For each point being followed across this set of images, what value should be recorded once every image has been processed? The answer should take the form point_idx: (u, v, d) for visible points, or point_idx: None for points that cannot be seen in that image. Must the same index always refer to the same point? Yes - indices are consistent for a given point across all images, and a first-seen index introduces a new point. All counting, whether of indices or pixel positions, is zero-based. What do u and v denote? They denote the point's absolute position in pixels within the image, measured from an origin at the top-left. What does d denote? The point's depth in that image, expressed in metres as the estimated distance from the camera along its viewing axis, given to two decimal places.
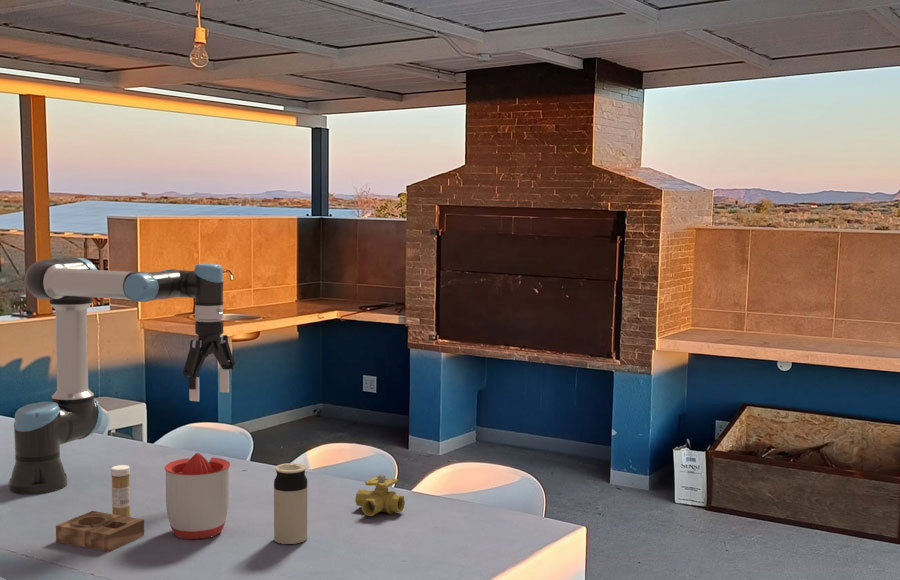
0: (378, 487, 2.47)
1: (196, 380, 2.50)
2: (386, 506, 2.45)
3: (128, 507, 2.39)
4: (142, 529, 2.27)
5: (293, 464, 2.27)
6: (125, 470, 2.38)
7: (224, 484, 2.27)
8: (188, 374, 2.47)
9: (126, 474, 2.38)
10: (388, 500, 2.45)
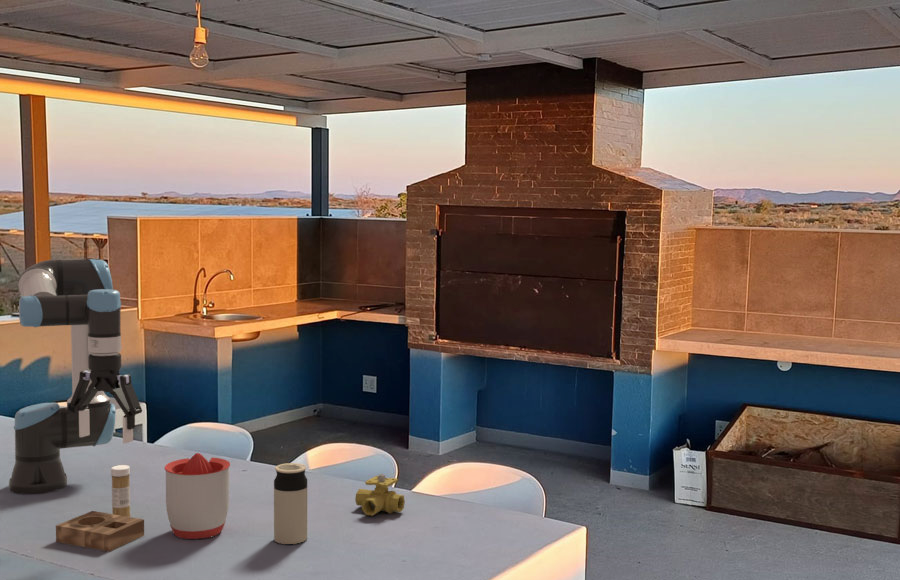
0: (378, 487, 2.47)
1: None
2: (386, 505, 2.45)
3: (128, 507, 2.39)
4: (142, 529, 2.27)
5: (293, 464, 2.27)
6: (125, 470, 2.38)
7: (224, 484, 2.27)
8: None
9: (126, 474, 2.38)
10: (388, 500, 2.46)
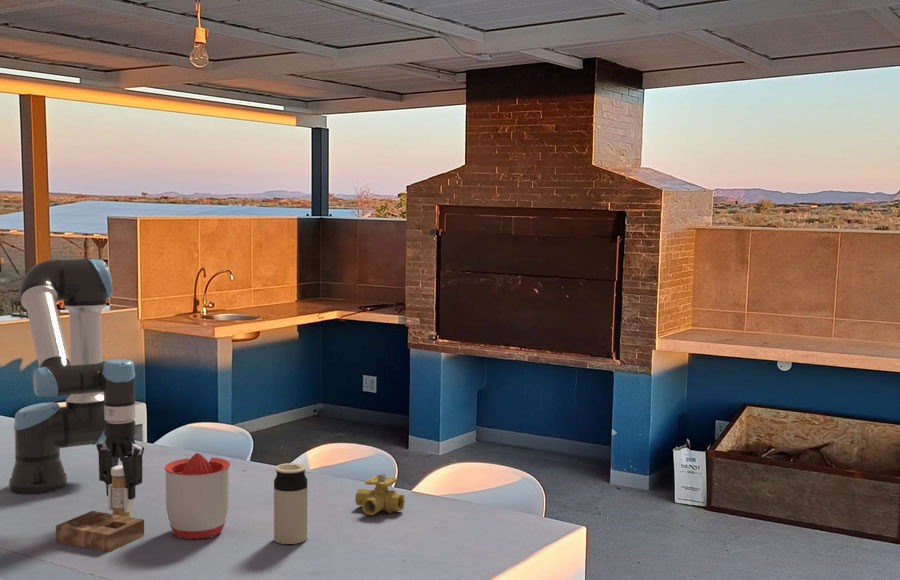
0: (378, 486, 2.48)
1: None
2: (386, 505, 2.46)
3: None
4: (142, 529, 2.27)
5: (293, 464, 2.27)
6: None
7: (224, 484, 2.27)
8: None
9: None
10: (388, 499, 2.46)
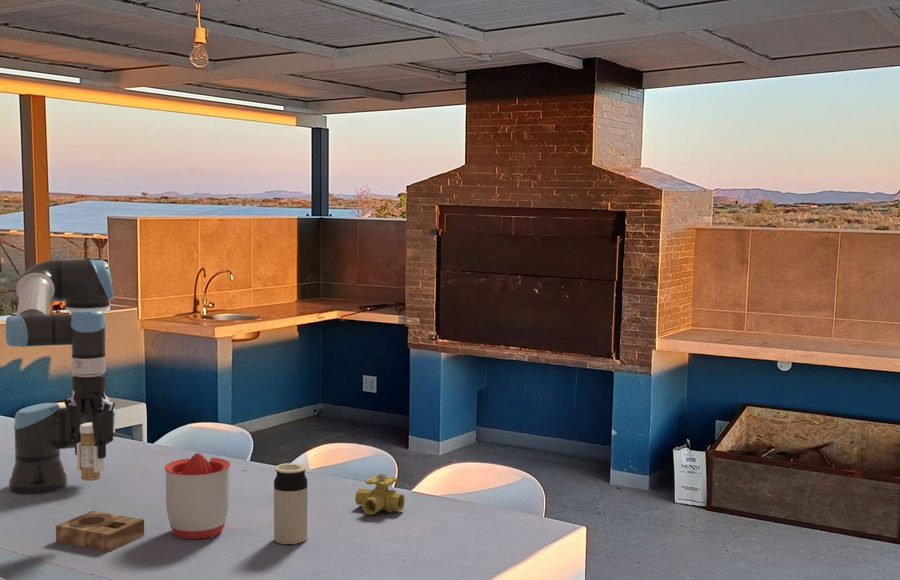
0: (378, 486, 2.48)
1: None
2: (387, 505, 2.46)
3: None
4: (142, 529, 2.27)
5: (293, 464, 2.27)
6: None
7: (224, 484, 2.27)
8: None
9: None
10: (388, 499, 2.46)
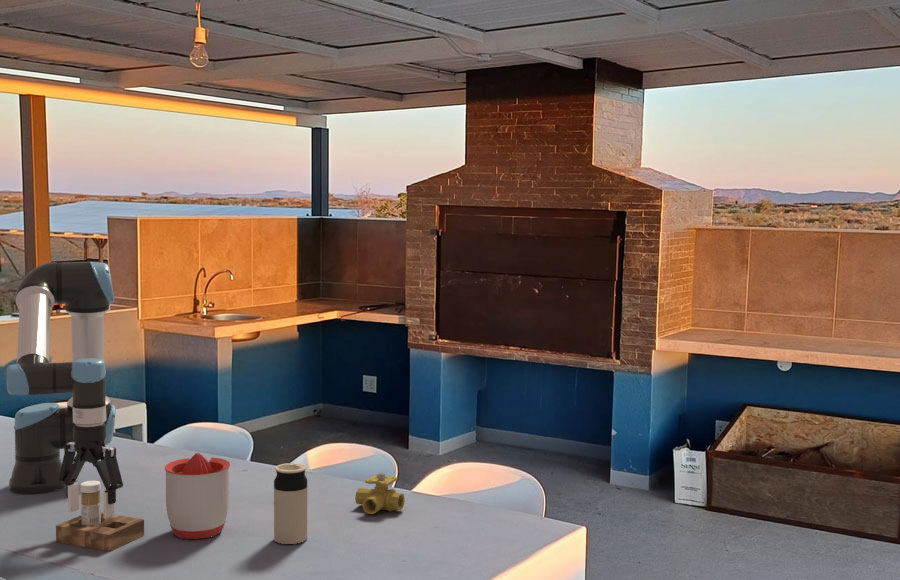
0: (378, 485, 2.49)
1: None
2: (387, 504, 2.47)
3: None
4: (142, 529, 2.27)
5: (293, 464, 2.27)
6: (95, 486, 2.24)
7: (224, 484, 2.27)
8: None
9: (96, 490, 2.24)
10: (389, 498, 2.47)
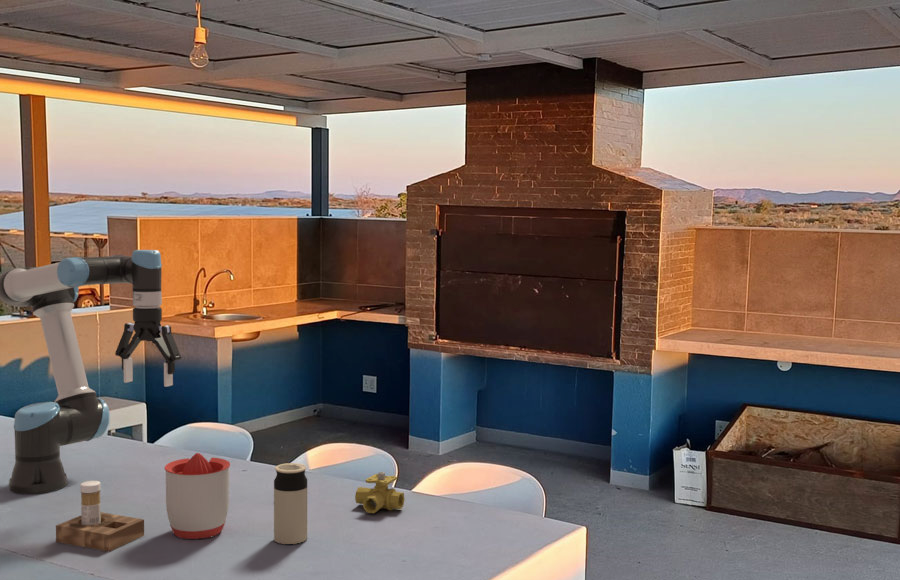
0: (378, 484, 2.49)
1: None
2: (387, 503, 2.47)
3: None
4: (142, 529, 2.27)
5: (293, 464, 2.27)
6: (95, 486, 2.24)
7: (224, 484, 2.27)
8: None
9: (96, 490, 2.24)
10: (389, 497, 2.48)
